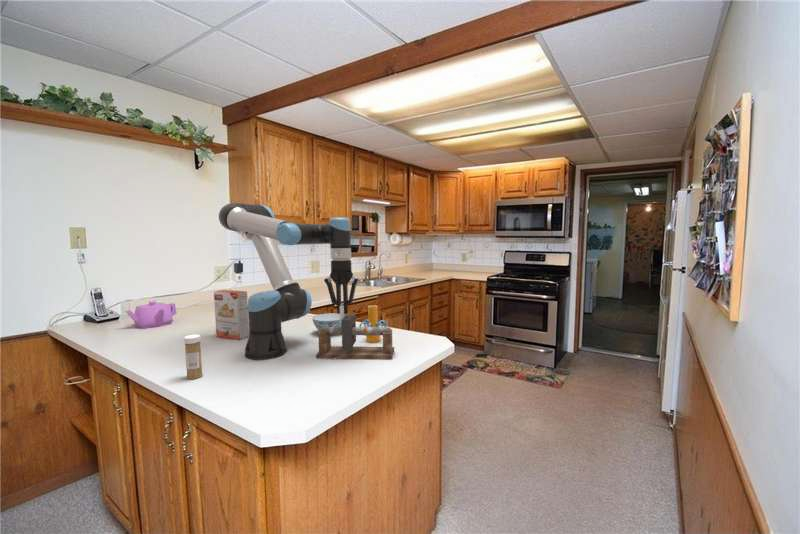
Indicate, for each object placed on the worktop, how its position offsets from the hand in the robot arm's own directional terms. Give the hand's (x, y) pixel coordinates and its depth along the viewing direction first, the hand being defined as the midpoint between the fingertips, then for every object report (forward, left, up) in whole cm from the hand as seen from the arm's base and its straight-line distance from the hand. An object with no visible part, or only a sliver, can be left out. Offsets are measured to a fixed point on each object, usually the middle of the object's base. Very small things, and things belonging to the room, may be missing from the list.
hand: (342, 322), depth 136 cm
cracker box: (-55, +21, -13) cm, 60 cm away
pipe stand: (+5, 0, -12) cm, 13 cm away
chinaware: (-13, +29, -13) cm, 34 cm away
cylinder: (+9, +18, -13) cm, 24 cm away
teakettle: (-108, +41, -13) cm, 116 cm away
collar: (+2, 0, -9) cm, 9 cm away
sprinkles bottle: (-43, -24, -13) cm, 51 cm away
